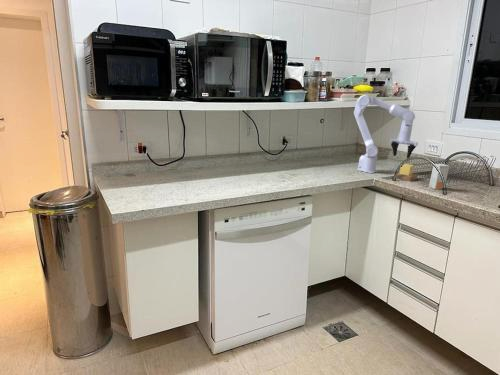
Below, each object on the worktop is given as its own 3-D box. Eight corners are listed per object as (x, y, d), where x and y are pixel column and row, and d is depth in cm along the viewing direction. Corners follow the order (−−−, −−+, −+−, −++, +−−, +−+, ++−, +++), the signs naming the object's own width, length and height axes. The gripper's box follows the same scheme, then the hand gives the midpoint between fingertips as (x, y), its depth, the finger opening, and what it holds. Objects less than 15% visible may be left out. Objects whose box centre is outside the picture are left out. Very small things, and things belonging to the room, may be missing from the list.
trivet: (393, 177, 190) (394, 173, 190) (400, 175, 197) (401, 171, 196) (410, 181, 184) (411, 176, 184) (416, 179, 190) (417, 174, 190)
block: (399, 173, 190) (401, 164, 188) (403, 172, 193) (405, 163, 192) (408, 175, 186) (410, 166, 185) (412, 174, 190) (414, 165, 188)
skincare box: (434, 189, 171) (439, 165, 167) (428, 187, 174) (433, 163, 171) (444, 189, 172) (449, 165, 169) (438, 186, 176) (443, 163, 173)
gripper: (389, 131, 194) (385, 155, 198) (415, 134, 184) (411, 159, 188) (395, 130, 199) (391, 154, 203) (421, 134, 189) (416, 158, 193)
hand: (401, 156), depth 196 cm, fingers open, 7 cm apart
